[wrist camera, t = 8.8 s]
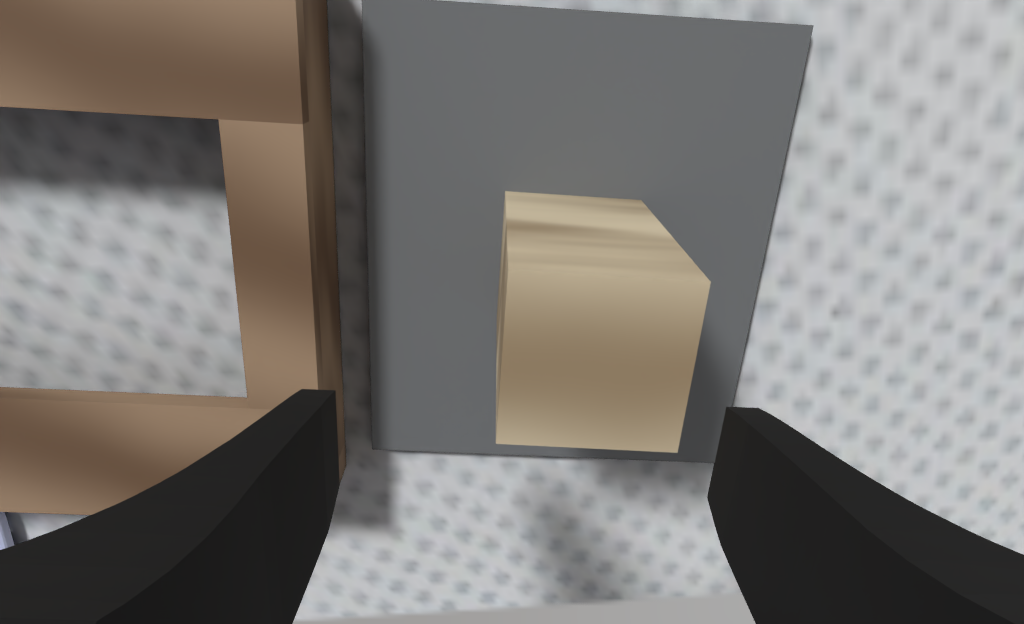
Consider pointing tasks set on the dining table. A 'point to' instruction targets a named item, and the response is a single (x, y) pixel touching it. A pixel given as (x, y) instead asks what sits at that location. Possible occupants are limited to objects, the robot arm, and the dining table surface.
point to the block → (594, 325)
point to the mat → (556, 186)
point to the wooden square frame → (252, 218)
